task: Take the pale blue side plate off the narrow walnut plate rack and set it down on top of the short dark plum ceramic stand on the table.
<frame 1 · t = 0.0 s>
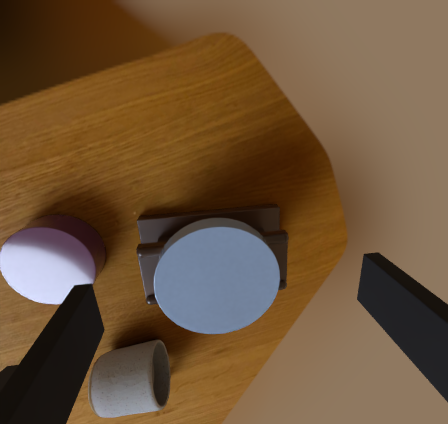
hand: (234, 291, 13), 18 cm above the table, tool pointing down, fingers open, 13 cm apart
plum stand: (64, 251, 30), on the table
side plate: (216, 272, 25), point 7 cm above the table, touching plate rack
ceramic mug: (143, 358, 37), on the table
plate rack: (211, 237, 32), on the table
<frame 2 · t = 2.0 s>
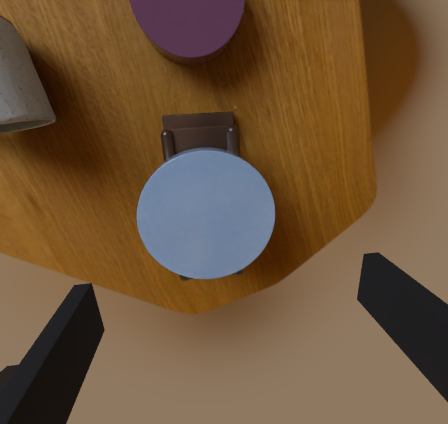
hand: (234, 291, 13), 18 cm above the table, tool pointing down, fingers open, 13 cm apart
plum stand: (188, 7, 24), on the table
side plate: (206, 212, 23), point 7 cm above the table, touching plate rack
ceramic mug: (3, 90, 25), on the table
plate rack: (204, 188, 30), on the table
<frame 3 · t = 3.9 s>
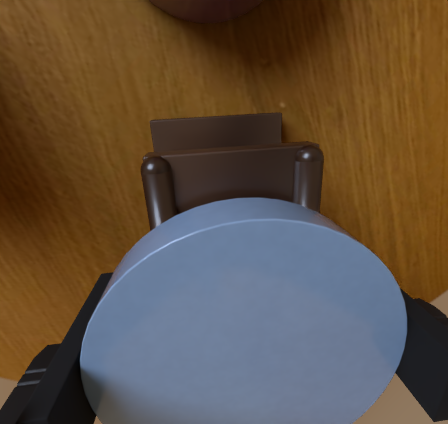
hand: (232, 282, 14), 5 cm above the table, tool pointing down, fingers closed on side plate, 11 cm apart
side plate: (242, 325, 11), point 8 cm above the table, touching gripper, plate rack
plate rack: (223, 242, 18), on the table
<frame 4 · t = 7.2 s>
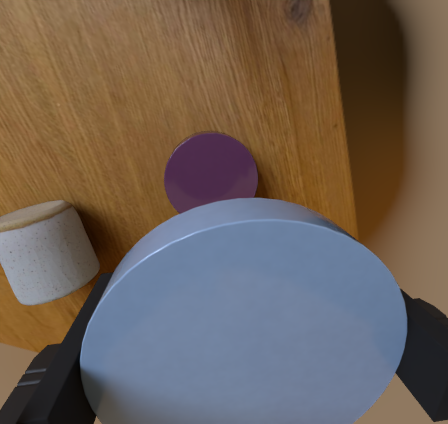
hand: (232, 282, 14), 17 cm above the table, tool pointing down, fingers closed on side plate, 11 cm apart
plum stand: (210, 174, 29), on the table
side plate: (242, 326, 11), point 20 cm above the table, touching gripper
ceramic mug: (54, 236, 30), on the table
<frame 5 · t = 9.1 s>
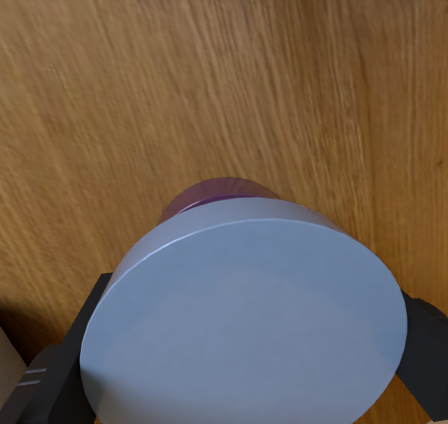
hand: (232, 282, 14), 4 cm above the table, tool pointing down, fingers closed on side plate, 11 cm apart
plum stand: (225, 246, 17), on the table
side plate: (242, 325, 11), point 7 cm above the table, touching gripper
when the fingers open (0 cm above the table, at t = 10.7 s): side plate stays where it is, resting on plum stand.
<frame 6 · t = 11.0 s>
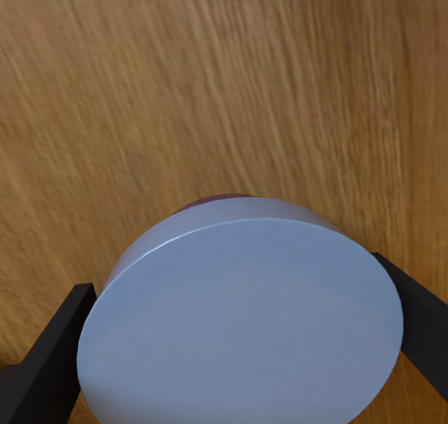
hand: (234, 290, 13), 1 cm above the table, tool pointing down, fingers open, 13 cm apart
plum stand: (229, 276, 14), on the table
side plate: (239, 325, 11), point 4 cm above the table, touching plum stand
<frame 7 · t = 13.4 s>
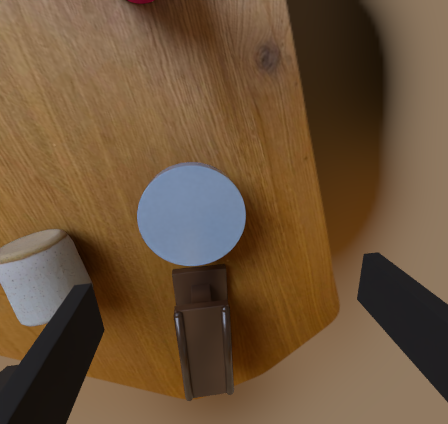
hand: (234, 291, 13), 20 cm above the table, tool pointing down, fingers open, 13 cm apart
side plate: (192, 212, 29), point 3 cm above the table, touching plum stand
ceramic mug: (51, 260, 33), on the table
plate rack: (203, 314, 38), on the table
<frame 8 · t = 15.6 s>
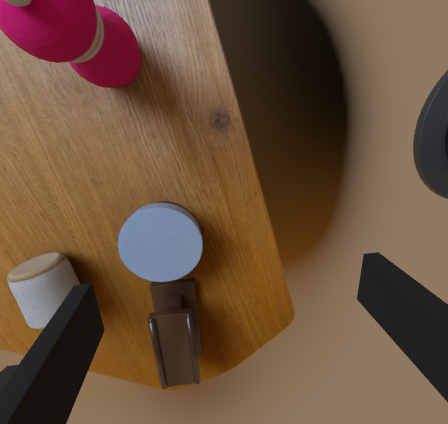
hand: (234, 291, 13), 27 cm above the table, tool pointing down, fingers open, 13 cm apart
pepper mill: (115, 57, 32), on the table
side plate: (162, 240, 37), point 3 cm above the table, touching plum stand
ceramic mug: (53, 275, 41), on the table
plate rack: (178, 318, 46), on the table
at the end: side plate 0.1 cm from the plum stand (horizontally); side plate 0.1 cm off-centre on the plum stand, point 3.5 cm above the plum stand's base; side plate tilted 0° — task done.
